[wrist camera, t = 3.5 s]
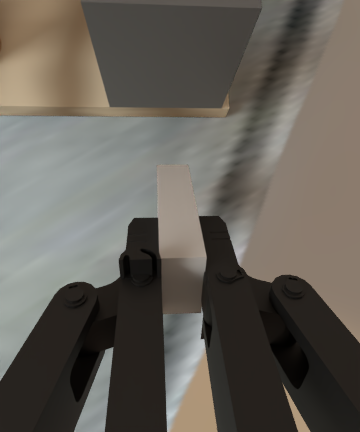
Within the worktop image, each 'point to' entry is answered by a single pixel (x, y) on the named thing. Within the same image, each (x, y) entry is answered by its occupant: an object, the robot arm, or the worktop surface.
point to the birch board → (59, 65)
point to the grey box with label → (169, 49)
